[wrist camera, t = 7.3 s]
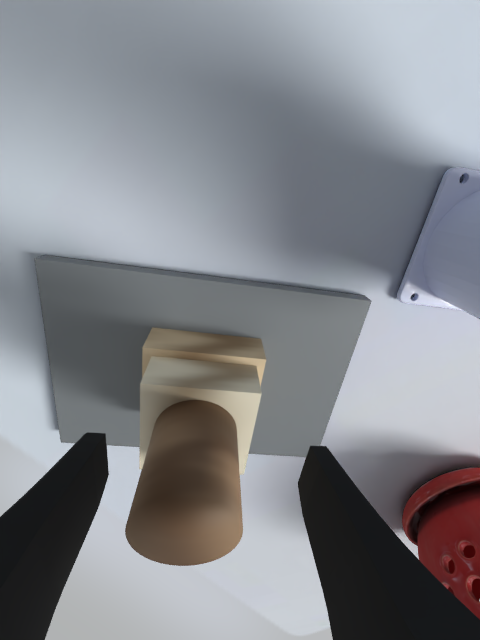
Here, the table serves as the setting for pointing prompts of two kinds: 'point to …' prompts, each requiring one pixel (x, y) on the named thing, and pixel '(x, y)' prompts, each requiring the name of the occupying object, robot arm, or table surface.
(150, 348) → the oak bottom block
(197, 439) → the walnut cylinder
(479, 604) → the plant pot
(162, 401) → the birch top block
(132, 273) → the grey base plate
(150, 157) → the table surface
